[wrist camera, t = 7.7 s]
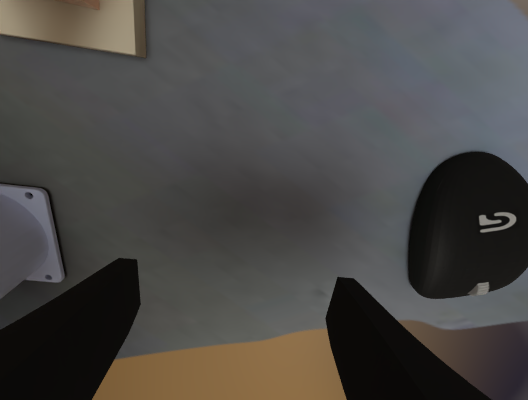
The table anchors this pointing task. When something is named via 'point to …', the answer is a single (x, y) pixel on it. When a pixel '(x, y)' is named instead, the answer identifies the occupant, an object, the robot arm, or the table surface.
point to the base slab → (78, 24)
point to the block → (84, 3)
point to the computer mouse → (469, 228)
